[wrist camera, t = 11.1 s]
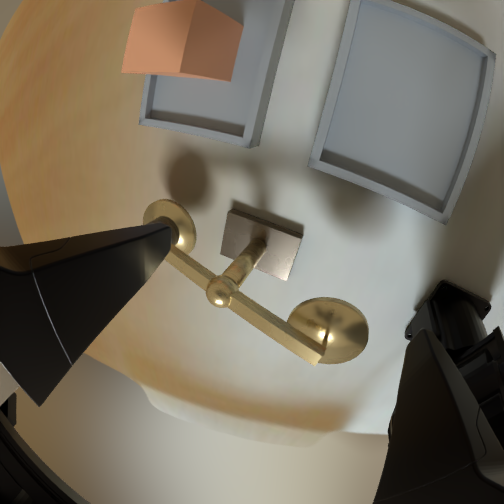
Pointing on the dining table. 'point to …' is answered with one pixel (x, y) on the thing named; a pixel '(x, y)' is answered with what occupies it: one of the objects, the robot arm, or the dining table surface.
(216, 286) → the balance
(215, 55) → the block
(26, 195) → the dining table surface
